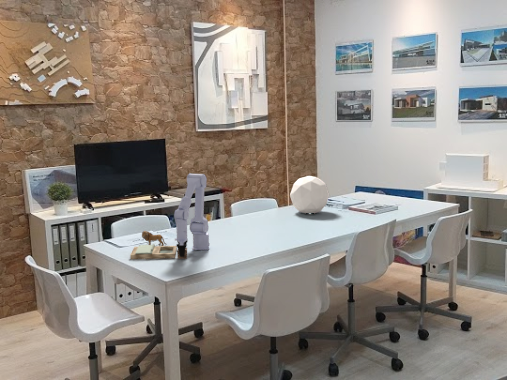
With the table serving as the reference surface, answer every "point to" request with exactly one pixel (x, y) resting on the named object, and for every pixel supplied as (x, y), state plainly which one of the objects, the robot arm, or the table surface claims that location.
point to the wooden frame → (156, 253)
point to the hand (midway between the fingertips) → (182, 255)
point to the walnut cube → (184, 255)
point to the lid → (145, 249)
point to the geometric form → (309, 194)
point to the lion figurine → (152, 238)
